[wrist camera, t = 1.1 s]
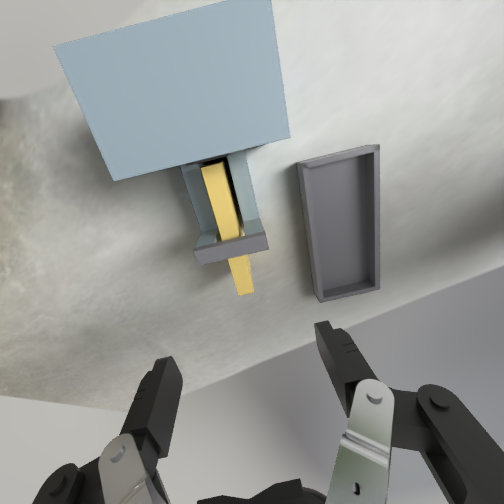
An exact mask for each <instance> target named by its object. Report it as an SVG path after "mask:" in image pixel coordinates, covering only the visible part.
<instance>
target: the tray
mask: <svg viewBox="0 0 504 504" xmlns="http://www.w3.org/2000/svg"><path fill="white" fill-rule="evenodd" d="M296 164H297V171H298V178H299V186H300V193H301V200H302V207H303V215H304V222H305V229H306V236H307V244H308V251H309V258H310V266H311V273H312V280H313V287H314V293H315V295H316V297H317V299H318V300H319V302H320V303H322V302H326V301H331V300H335V299H339V298H344V297H348V296H353V295H357V294H361V293H366V292H370V291H374V290H379V289H380V144H378V145H365V146H361V147H357V148H353V149H349V150H345V151H341V152H337V153H333V154H329V155H325V156H320V157H316V158H312V159H308V160H304V161H300V162H296Z"/></svg>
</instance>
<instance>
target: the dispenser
mask: <svg viewBox="0 0 504 504" xmlns="http://www.w3.org/2000/svg"><path fill="white" fill-rule="evenodd" d="M53 48H54V51H55V53H56V55H57V57H58V59H59V62H60V64H61V66H62V68H63V71H64V73H65V75H66V77H67V79H68V82H69V84H70V86H71V88H72V90H73V93H74V95H75V97H76V99H77V101H78V104H79V106H80V108H81V110H82V112H83V115H84V117H85V119H86V121H87V123H88V126H89V128H90V130H91V132H92V135H93V137H94V139H95V141H96V143H97V146H98V148H99V150H100V152H101V154H102V157H103V159H104V161H105V163H106V165H107V168H108V170H109V172H110V174H111V176H112V179H113V181H117V180H122V179H126V178H130V177H134V176H138V175H142V174H146V173H150V172H154V171H158V170H163V169H167V168H171V167H175V166H180V169H181V172H182V175H183V178H184V181H185V184H186V187H187V190H188V193H189V196H190V199H191V202H192V205H193V208H194V211H195V214H196V217H197V220H198V223H199V226H200V229H201V234H200V237H199V239H198V241H197V244H196V246H195V249H194V251H193V252H194V255H195V258H196V261H197V263H198V266H201V265H205V264H209V263H213V262H218V261H222V260H226V259H230V258H235V257H239V256H243V255H247V254H252V253H256V252H260V251H264V250H269V247H268V242H267V238H266V234H265V231H264V228H263V226H262V223H261V221H260V218H259V214H258V209H257V204H256V200H255V195H254V191H253V186H252V182H251V177H250V172H249V168H248V163H247V159H246V154H245V150H244V149H247V148H251V147H256V146H260V145H264V144H268V143H272V142H275V141H279V140H283V139H287V138H291V137H290V130H289V123H288V116H287V109H286V102H285V95H284V88H283V81H282V74H281V67H280V60H279V53H278V45H277V38H276V31H275V24H274V17H273V10H272V3H271V0H226V1H222V2H219V3H215V4H211V5H207V6H203V7H200V8H196V9H192V10H188V11H184V12H181V13H177V14H173V15H169V16H165V17H162V18H158V19H154V20H150V21H147V22H143V23H139V24H135V25H131V26H128V27H124V28H120V29H116V30H112V31H109V32H105V33H101V34H97V35H94V36H90V37H86V38H82V39H78V40H74V41H71V42H67V43H63V44H60V45H56V46H53ZM225 156H227V159H228V163H229V167H230V171H231V175H232V179H233V183H234V187H235V191H236V195H237V199H238V203H239V207H240V211H241V215H242V219H243V224H244V231H245V236H241V237H237V238H233V239H229V240H225V241H221V235H220V231H219V228H218V225H217V221H216V218H215V215H214V211H213V208H212V205H211V201H210V198H209V195H208V191H207V188H206V185H205V181H204V178H203V174H202V171H201V168H202V167H204V162H205V161H209V160H213V159H217V158H221V157H225Z"/></svg>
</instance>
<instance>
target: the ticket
mask: <svg viewBox="0 0 504 504" xmlns="http://www.w3.org/2000/svg"><path fill="white" fill-rule="evenodd" d="M201 171H202V174H203V178H204V181H205V185H206V188H207V191H208V195H209V198H210V201H211V205H212V208H213V211H214V215H215V218H216V221H217V225H218V228H219V231H220V235H221V238H222V241H225V240H229V239H233V238H237V237H241V236H243V233H242V230H241V226H240V222H239V218H238V214H237V210H236V206H235V202H234V198H233V195H232V191H231V187H230V183H229V179H228V175H227V171H226V167H225V163H224V160H223V161H219V162H215V163H211V164H208V165H206V166H204V167H202V168H201ZM228 262H229V265H230V268H231V272H232V275H233V278H234V282H235V285H236V288H237V292H238V295H239V296H240V295H245V294H249V293H253V292H254V289H253V282H252V274H251V267H250V261H249V257H248V254H247V255H243V256H239V257H235V258H230V259H228Z"/></svg>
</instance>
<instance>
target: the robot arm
mask: <svg viewBox="0 0 504 504" xmlns="http://www.w3.org/2000/svg"><path fill="white" fill-rule="evenodd" d="M314 327H315V334H316V341H317V346H318V350H319V353H320V356H321V358H322V360H323V363H324V365H325V367H326V369H327V372H328V374H329V377H330V379H331V381H332V384H333V386H334V388H335V391H336V393H337V395H338V397H339V400H340V402H341V404H342V407H343V409H344V411H345V414H346V416H347V418H349V421H348V426H347V429H346V432H345V434H343V436H342V438H341V441H340V445H339V449H338V453H337V457H336V461H335V465H334V470H333V474H332V478H331V482H330V486H329V490H328V494H327V496H325V495H324V494H322V493H320V492H318V491H316V490H313V489H310V488H305V487H302V484H301V480H300V479H295V480H290V481H286V482H281V483H276V484H274V485H272V486H270V487H269V488H267V489H265V490H264V491H262V492H260V493H259V494H257V495H255V496H254V497H252V498H250V499H242V498H236V497H230V496H223V495H222V496H217V497H213V498H208V499H203V500H199V501H197V504H387V499H388V487H389V476H390V465H391V453H392V447H397V448H403V449H409V450H414V451H419V452H420V453H421V455H422V457H423V459H424V460H425V462H426V464H427V466H428V468H429V469H430V471H431V473H432V475H433V476H434V478H435V480H436V482H437V483H438V485H439V487H440V489H441V490H442V492H443V494H444V496H445V497H446V499H447V501H448V502H449V504H504V452H503V451H502V449H501V448H500V447H499V446H498V445H497V444H496V442H495V441H494V440H493V439H492V438H491V436H490V435H489V434H488V433H487V432H486V430H485V429H484V428H483V427H482V426H481V424H480V423H479V422H478V421H477V420H476V419H475V417H474V416H473V415H472V414H471V413H470V412H469V410H468V409H467V408H466V407H465V406H464V404H463V403H462V402H461V401H460V400H459V398H458V397H457V396H456V395H454V394H453V393H452V392H450V391H449V390H447V389H446V388H443V387H441V386H438V385H433V384H428V385H423V386H422V387H420V388H419V389H418V392H409V391H400V390H395V389H392V388H390V387H388V386H386V385H385V384H384V383H382V382H380V381H379V380H378V379H377V377H376V376H375V374H374V373H373V371H372V370H371V368H370V366H369V365H368V363H367V362H366V360H365V359H364V357H363V355H362V354H361V353H360V351H359V350H358V348H357V346H356V344H354V341H353V340H352V338H351V337H350V335H349V334H348V333H347V332H345V331H344V330H343V329H341V328H338V329H334V330H333V328H332V326H331V324H330V323H329V321H328V320H327V321H323V322H319V323H314ZM182 385H183V380H182V375H181V373H180V371H179V369H178V367H177V365H176V363H175V361H174V359H173V357H172V356H169V357H164V358H160V359H157V360H156V361H155V364H154V367H153V369H152V371H149V372H147V374H146V375H145V376H144V378H143V379H142V380H141V382H140V385H139V387H138V390H137V393H136V395H135V397H134V401H133V402H132V405H131V407H130V410H129V412H128V415H127V417H126V420H125V422H124V425H123V427H122V430H121V432H120V434H119V436H117V437H116V438H114V439H113V440H112V441H111V442H110V443H109V444H108V445H107V446H106V447H105V449H104V450H103V452H102V454H101V456H100V457H98V458H96V459H94V460H93V461H91V462H89V463H88V464H86V465H84V466H82V467H80V468H78V467H77V466H76V465H75V464H73V463H69V464H66V465H63V466H62V467H60V468H59V469H57V470H56V471H55V472H54V473H52V474H51V475H50V476H49V478H48V479H47V480H46V481H45V483H44V484H43V485H42V487H41V488H40V490H39V492H38V494H37V496H36V498H35V499H34V502H33V503H32V504H171V503H170V500H169V498H168V495H167V493H166V490H165V488H164V485H163V483H162V480H161V478H160V475H159V473H158V470H157V469H156V466H157V462H158V459H160V458H165V457H167V456H168V451H169V446H170V441H171V437H172V433H173V428H174V423H175V419H176V413H177V409H178V405H179V399H180V395H181V391H182Z"/></svg>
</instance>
